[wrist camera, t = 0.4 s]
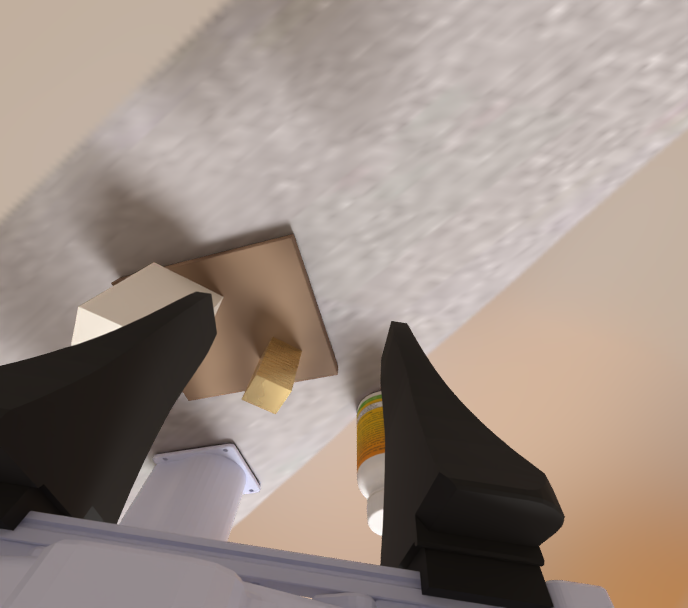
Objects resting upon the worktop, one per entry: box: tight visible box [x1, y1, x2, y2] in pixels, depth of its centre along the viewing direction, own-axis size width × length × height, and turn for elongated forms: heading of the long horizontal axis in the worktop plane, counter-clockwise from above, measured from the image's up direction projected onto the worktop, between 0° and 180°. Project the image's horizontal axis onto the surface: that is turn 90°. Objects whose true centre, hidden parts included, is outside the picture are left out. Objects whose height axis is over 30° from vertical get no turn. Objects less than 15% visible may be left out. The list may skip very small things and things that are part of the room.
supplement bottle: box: [357, 391, 385, 536], centre depth 25 cm, size 5×5×10 cm
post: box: [242, 337, 302, 414], centre depth 23 cm, size 3×3×4 cm
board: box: [111, 234, 338, 401], centre depth 24 cm, size 14×12×1 cm
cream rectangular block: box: [71, 262, 223, 346], centre depth 20 cm, size 5×5×7 cm
